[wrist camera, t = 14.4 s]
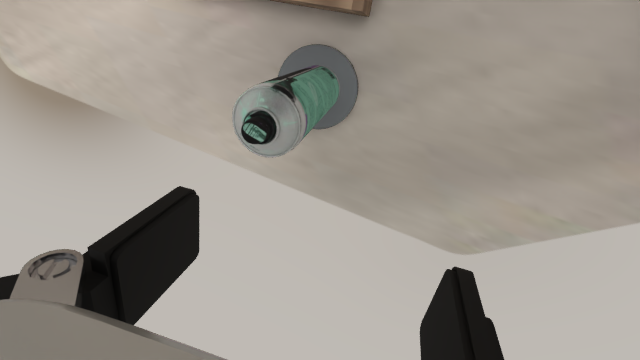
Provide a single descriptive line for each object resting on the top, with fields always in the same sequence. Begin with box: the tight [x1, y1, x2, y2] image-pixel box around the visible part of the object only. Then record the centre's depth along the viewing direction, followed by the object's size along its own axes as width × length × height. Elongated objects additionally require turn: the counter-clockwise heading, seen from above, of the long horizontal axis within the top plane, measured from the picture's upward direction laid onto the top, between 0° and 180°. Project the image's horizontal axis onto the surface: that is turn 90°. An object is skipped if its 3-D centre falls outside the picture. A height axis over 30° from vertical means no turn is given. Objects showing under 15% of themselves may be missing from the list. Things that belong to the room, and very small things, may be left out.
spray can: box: [232, 65, 340, 158], centre depth 30 cm, size 6×6×20 cm
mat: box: [278, 45, 358, 129], centre depth 39 cm, size 10×10×1 cm
